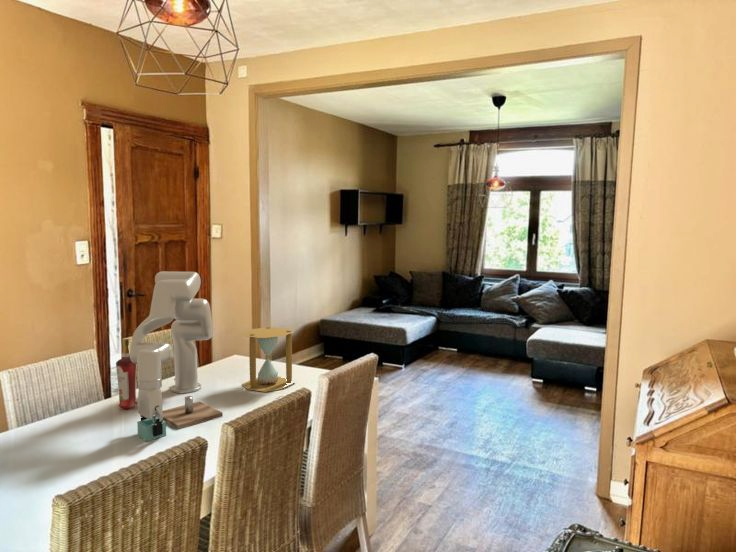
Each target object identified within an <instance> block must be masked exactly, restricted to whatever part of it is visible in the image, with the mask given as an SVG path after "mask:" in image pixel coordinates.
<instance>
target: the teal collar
mask: <svg viewBox="0 0 736 552" xmlns="http://www.w3.org/2000/svg"><path fill="white" fill-rule="evenodd" d="M157 419H158V418H155V420H157ZM153 425H154V424H153V421H152V418H151V419H146V420H142V421H141V420H140V421H137V436H138V437H140V439H142V440H144V441H145V442H149V441H152V440H155V439H159V438H163V437H165V436H167V422H165V421H164V420H163V424H162V425H163V434H162V435H159V436H155V437H154V436H153Z"/></svg>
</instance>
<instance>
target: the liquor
mask: <svg viewBox="0 0 736 552" xmlns="http://www.w3.org/2000/svg"><path fill="white" fill-rule="evenodd" d="M120 340H121V349H122V351H121V358H120V359H118V360H117V361H116V362H115V368H116V379H117V388H118V400H119V401H118V402H119V404H118V406H117V407H119V408H120V409H122V410H123V409H124V411H128V409H129V410H133V409H134V408H135V407H136V406H138V401H137V392H136V391H137V389H136V388H137V387H136V386H137V364H135V363H133V362H132V361H131V359H130V348H129V347H130V346H129V345H130V339H129V338H122V339H120Z"/></svg>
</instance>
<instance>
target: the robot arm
mask: <svg viewBox="0 0 736 552" xmlns="http://www.w3.org/2000/svg"><path fill="white" fill-rule="evenodd" d="M154 283H155V285H154V287H153V293H152V297H151V298H152V299H151V304H150V305H151V306H150V309H149V310H150V311H149V315H148V316H147V317H146V318H145V319H144V320H143V321H142V322H141V323H140V324H139V325H138V326H137V328H136V329H135V330H134V332H133V334H132V338H131V344H130V346H129V347H130V348H129V354H130V359H131V361H132V362H133V363H135V364H136V365H137V383H138V385H137V386H138V387H137V389H138V391H137V392H138V393H137V395H138V396H137V412H138V414H139V415H140V421H142V420H146V419H151V418H152V421H153V424H154V425H153V436H154V437H155V436H159V435H162V434H163V425H162V424H163V416H164V414H163V411H164V410H163V396H162V390H161V388H162V387H163V384H162V381H163V380H162V365H166V364H167V363H169V362H170V361H171V360H172V358H173V359H174V360H173V361H174V379H173V380H174V385H172V387H171V391H172V392H174V393H177V394H178V393H179V394H185V393H187V394H189V393H193V392H194V393H195V392H196V391H200V389H202V384H201V383H200V382H198V381H199V380H198V352H197V351H198V349H197V346H195V343H193V342H194V341H207V340H210V339H211V338H212V336H213V334H214V327H213V319H212V311H211V305H210V302H209V301H208V300H207V299H205V298H195V296H196V295H197V293H198V292H199V290H200V288H201V284H202V283H201V277H200V274H199V273H198V272H196V271H165V270H164V271H163V270H162V271H159V272H157V273H156V274H155V277H154ZM174 319H175V320H174ZM173 320H174V321H173ZM171 322H172V324H171V326H170V327H171V328H170V332H171V336H172V337H171V338H172V342H173V346H172V345H171V344H170V343H168V342H143V341H144V339H145V338H146V336H147V335H148V334H149V333H151V332H153V331H155V330H157V329H158V328H159V329H160V328H162V327H163V326H167V325H168V324H170V323H171ZM155 418H158V419H157V420H155Z"/></svg>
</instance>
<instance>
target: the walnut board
mask: <svg viewBox="0 0 736 552" xmlns="http://www.w3.org/2000/svg"><path fill="white" fill-rule="evenodd" d="M163 414H164V416H163V420H164V421H165V422H166V424H168V425H170V426H172V427H173V428H175V429H176V430H181V429H184V428H187V427H190V426H194V425H197V424H200V423H204V422H208V421H211V420H215V419H218V418H222V417H223V414H224V412H222V411H220V410H218V409H216V408H215V407H212V406H210V405H208V404H206V403H204V402H202V401H195V402H193V413H191V414H186V413H185V404H183V405H180V406H176V407H175V406H174V407H173V408H172V407H171V408H168V409H164V410H163Z"/></svg>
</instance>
